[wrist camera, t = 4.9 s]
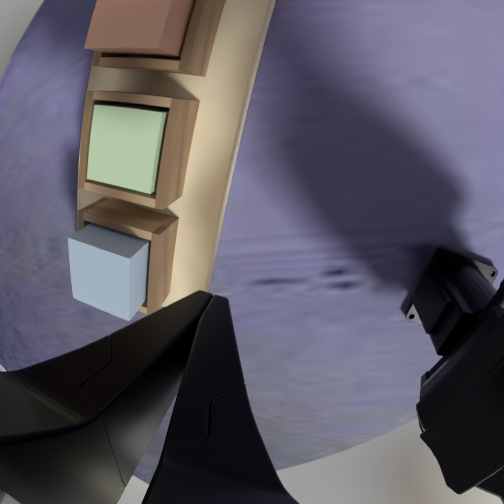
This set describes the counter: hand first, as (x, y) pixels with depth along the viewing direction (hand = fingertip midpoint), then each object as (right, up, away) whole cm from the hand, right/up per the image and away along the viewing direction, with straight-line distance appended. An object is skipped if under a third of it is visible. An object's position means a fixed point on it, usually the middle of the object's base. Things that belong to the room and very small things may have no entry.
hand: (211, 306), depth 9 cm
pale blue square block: (-7, +1, +11) cm, 13 cm away
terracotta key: (-4, +14, +4) cm, 15 cm away
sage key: (-5, +8, +9) cm, 14 cm away
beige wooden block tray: (-5, +9, +11) cm, 15 cm away
